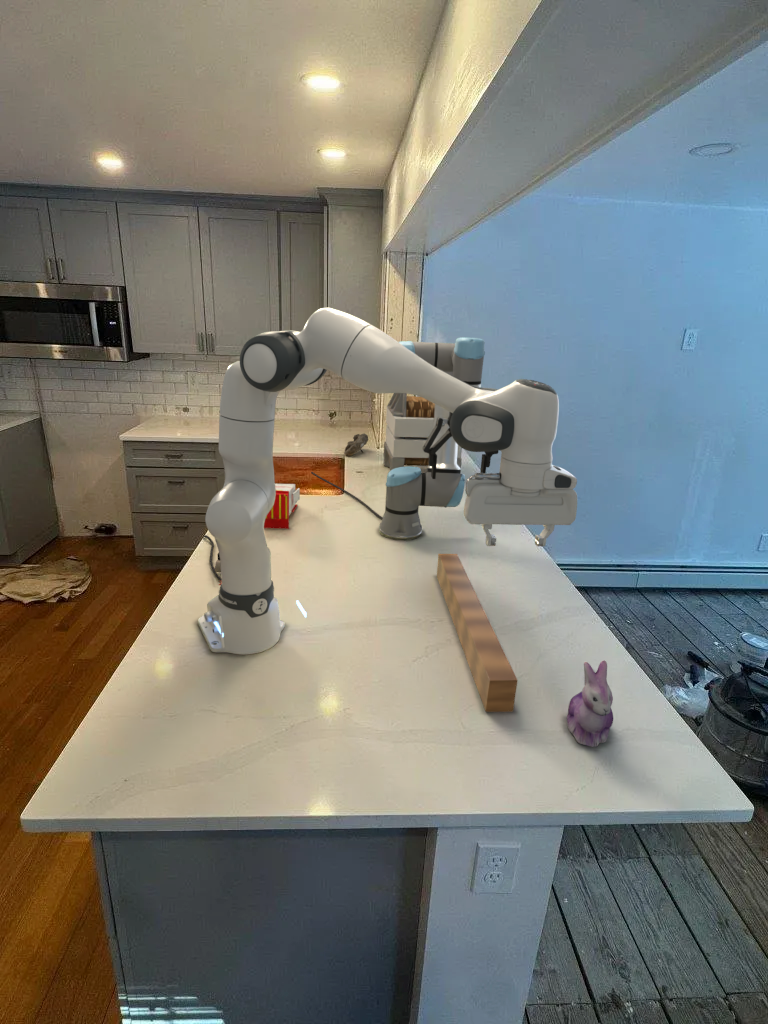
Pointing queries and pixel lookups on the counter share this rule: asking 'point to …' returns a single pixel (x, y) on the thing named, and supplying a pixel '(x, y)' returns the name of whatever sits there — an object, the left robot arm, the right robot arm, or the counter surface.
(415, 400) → the slatted wooden crate
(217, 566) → the figurine character
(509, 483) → the left robot arm
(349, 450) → the fossil
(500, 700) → the bar
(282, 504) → the toy
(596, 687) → the figurine
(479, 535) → the counter surface
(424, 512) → the counter surface
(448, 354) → the right robot arm
